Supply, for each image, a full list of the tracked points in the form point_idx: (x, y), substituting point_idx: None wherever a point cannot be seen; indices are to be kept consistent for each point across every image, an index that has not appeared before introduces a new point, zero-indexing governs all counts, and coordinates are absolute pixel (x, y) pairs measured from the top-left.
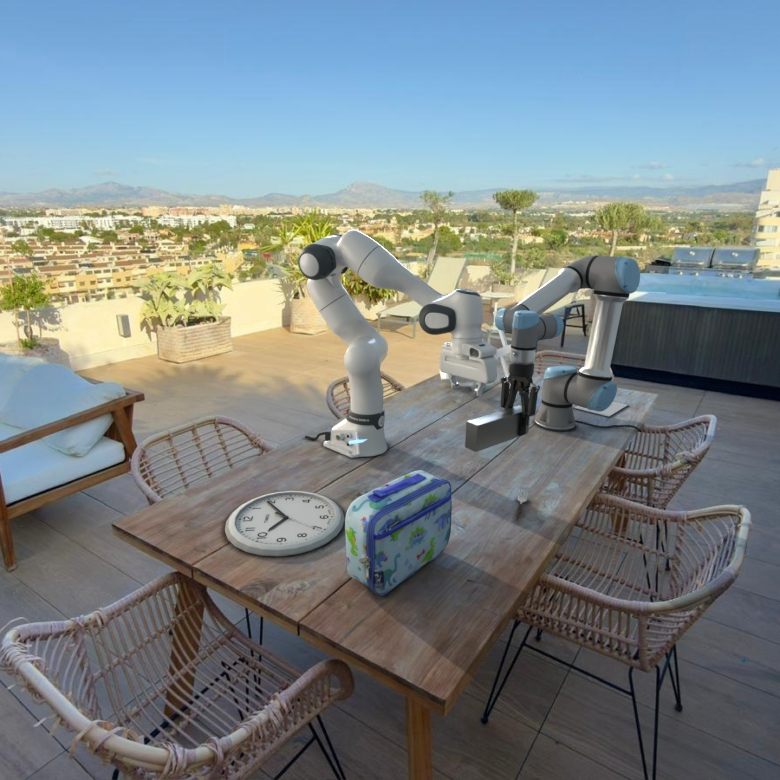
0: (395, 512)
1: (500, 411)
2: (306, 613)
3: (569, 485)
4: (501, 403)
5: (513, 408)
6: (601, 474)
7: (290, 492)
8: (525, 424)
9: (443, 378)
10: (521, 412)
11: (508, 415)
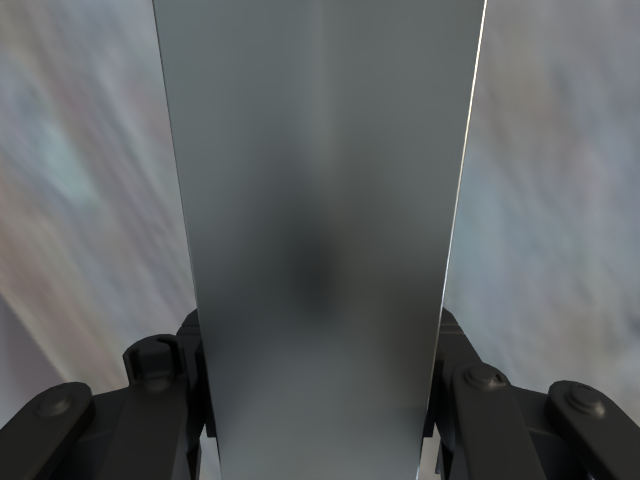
0: None
1: (444, 166)
2: None
3: (40, 228)
4: (624, 432)
5: (384, 435)
6: None
7: None
8: (185, 319)
9: None
10: (214, 409)
11: (182, 107)
